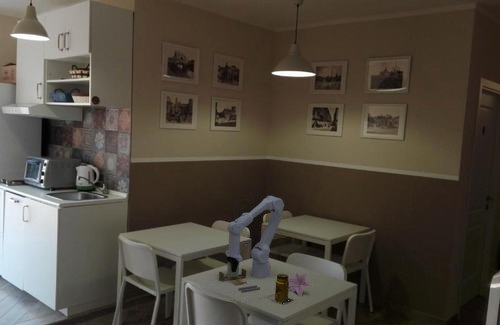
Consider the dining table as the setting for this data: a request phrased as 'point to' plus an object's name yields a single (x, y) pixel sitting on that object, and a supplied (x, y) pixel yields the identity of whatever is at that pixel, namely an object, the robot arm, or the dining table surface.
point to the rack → (241, 276)
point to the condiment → (282, 289)
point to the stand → (249, 288)
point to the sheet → (232, 274)
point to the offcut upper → (239, 282)
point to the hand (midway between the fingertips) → (233, 271)
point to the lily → (298, 283)
